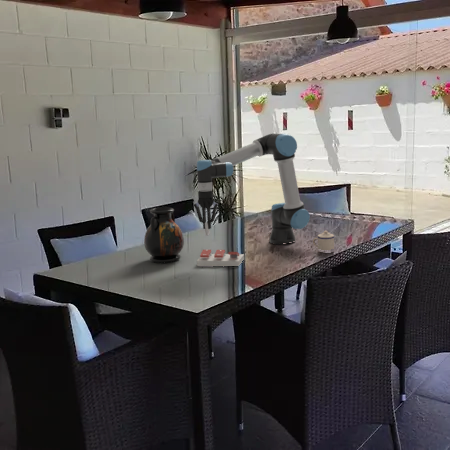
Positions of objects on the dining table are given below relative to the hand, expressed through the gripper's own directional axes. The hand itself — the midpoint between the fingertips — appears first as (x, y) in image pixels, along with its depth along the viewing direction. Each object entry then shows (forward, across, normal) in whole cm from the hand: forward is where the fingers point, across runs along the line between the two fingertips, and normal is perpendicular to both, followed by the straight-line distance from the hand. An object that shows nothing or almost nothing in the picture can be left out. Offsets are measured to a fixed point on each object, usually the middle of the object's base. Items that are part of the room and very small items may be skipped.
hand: (207, 235), depth 306 cm
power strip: (+15, +7, -1) cm, 16 cm away
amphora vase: (+15, -25, +4) cm, 30 cm away
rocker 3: (+11, +14, -4) cm, 18 cm away
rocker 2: (+11, +7, -2) cm, 13 cm away
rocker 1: (+11, -1, -2) cm, 11 cm away
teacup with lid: (+15, +58, +25) cm, 65 cm away
